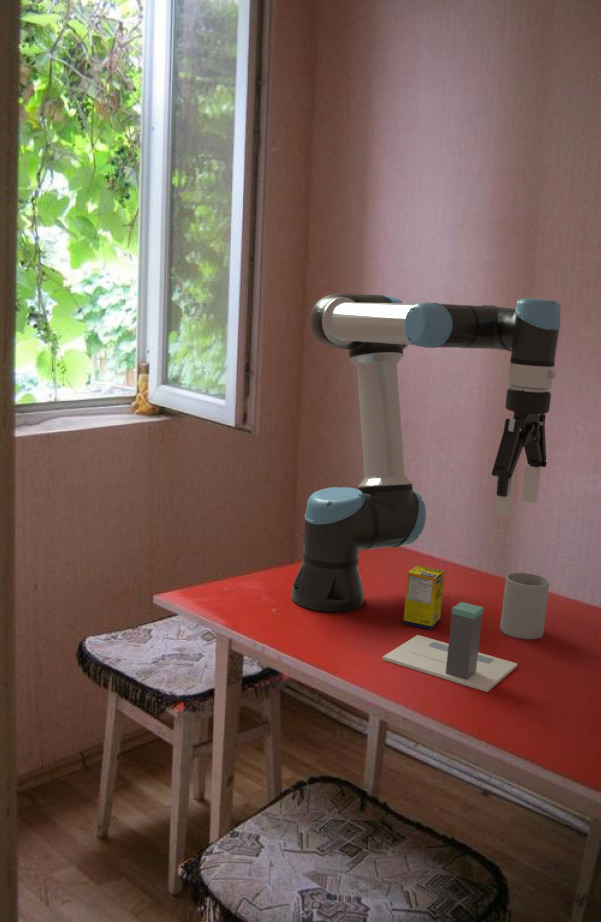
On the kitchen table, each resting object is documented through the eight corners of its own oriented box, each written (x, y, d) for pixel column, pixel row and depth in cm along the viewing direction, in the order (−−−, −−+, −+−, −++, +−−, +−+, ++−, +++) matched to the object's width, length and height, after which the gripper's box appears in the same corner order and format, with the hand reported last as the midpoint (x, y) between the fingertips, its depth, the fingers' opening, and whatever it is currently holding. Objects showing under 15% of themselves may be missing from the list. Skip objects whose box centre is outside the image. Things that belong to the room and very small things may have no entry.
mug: (551, 639, 187) (557, 585, 185) (511, 640, 185) (517, 586, 183) (523, 617, 198) (529, 566, 196) (485, 618, 196) (491, 566, 194)
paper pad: (382, 659, 171) (382, 656, 171) (417, 637, 183) (417, 634, 183) (487, 692, 161) (487, 688, 161) (516, 666, 172) (517, 663, 172)
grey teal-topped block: (445, 673, 166) (452, 607, 163) (454, 666, 169) (461, 601, 167) (467, 680, 163) (474, 613, 161) (476, 672, 167) (483, 607, 165)
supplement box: (440, 621, 192) (445, 569, 190) (431, 630, 187) (436, 577, 185) (412, 615, 195) (417, 564, 193) (402, 624, 189) (407, 571, 187)
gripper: (524, 396, 153) (510, 524, 157) (572, 387, 174) (558, 500, 178) (481, 390, 157) (467, 515, 161) (533, 382, 178) (520, 492, 182)
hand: (515, 507), depth 170 cm, fingers open, 13 cm apart
